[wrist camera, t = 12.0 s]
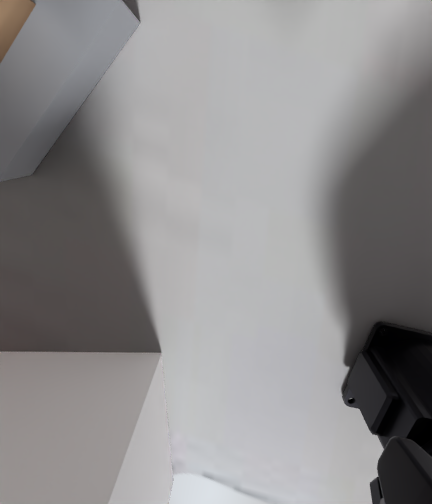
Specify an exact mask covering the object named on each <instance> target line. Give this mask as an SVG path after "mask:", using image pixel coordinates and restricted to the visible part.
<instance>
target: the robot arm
mask: <svg viewBox="0 0 432 504" xmlns="http://www.w3.org/2000/svg"><path fill="white" fill-rule="evenodd" d="M381 329H385V330H384V331H383V332H380V330H381ZM347 383H348V384H347V386H346V389H345V391H344V393H343V396H342V398H343V401H344V403H345V404H346V405H347V406H349V407H354V408H358V409H360V411H361V413H362V415H363V417H364V420H365V422H366V424H367V426H368V428H369V430H370V432H371V433H372V434H374V435H377V436H378V438H379V440H380V442H381V444H382V446H383V448H384V451H383V453H382V455H381V456H380V458H379V460H378V465H377V470H378V476H379V477H377V478H376V479H374V480H373V481H372V482H370V489H371V496H372V503H373V504H432V333H430V332H426V331H421V330H417V329H413V328H408V327H404V326H400V325H395V324H391V323H386V322H378V323H377V324H375V325H374V327H373V329H372V331H371V333H370V335H369V338H368V340H367V342H366V344H365V346H364V349H363V350H362V351H361V352H360V354H359V356H358V358H357V360H356V362H355V365H354V367H353V369H352V371H351V374H350V376H349V378H348V380H347ZM349 398H352V399H349Z"/></svg>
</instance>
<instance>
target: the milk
mask: <svg viewBox="0 0 432 504" xmlns="http://www.w3.org/2000/svg"><path fill="white" fill-rule="evenodd" d="M172 484H173V470H172V459H171V448H170V437H169V427H168V416H167V405H166V394H165V383H164V372H163V361H162V353H131V352H0V504H168V503H169V498H170V493H171V489H172Z"/></svg>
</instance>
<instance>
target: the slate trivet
mask: <svg viewBox="0 0 432 504" xmlns="http://www.w3.org/2000/svg"><path fill="white" fill-rule="evenodd" d="M32 1H33V2H34V3H35V4H36V5H35V7H34V9H33V10H32V12H31V14H30V15H29V17H28V19H27V20H26V22H25V24H24V25H23V27H22V29H21V30H20V32H19V34H18V35H17V37H16V38H15V40H14V42H13V43H12V45H11V47H10V48H9V50H8V52H7V53H6V55H5V57H4V58H3V60H2V62H1V63H0V182H1V181H6V180H11V179H16V178H21V177H26V176H31V175H32V174H33V172H34V171H35V170H36V168H37V167H38V165H39V164H40V163H41V161H42V160H43V158H44V157H45V156H46V154H47V153H48V151H49V150H50V149H51V147H52V146H53V144H54V143H55V142H56V140H57V139H58V137H59V136H60V135H61V133H62V132H63V130H64V129H65V128H66V126H67V125H68V123H69V122H70V121H71V119H72V118H73V116H74V115H75V114H76V112H77V111H78V109H79V108H80V107H81V105H82V104H83V102H84V101H85V100H86V98H87V97H88V95H89V94H90V93H91V91H92V90H93V88H94V87H95V86H96V84H97V83H98V81H99V80H100V79H101V77H102V76H103V74H104V73H105V72H106V70H107V69H108V67H109V66H110V65H111V63H112V62H113V60H114V59H115V58H116V56H117V55H118V53H119V52H120V51H121V49H122V48H123V46H124V45H125V44H126V42H127V41H128V39H129V38H130V37H131V35H132V34H133V32H134V31H135V30H136V28H137V27H138V25H139V24H140V22H139V20H138V19H137V18H136V17H135V15H134V14H133V13H132V12H131V11H130V9H129V8H128V7H127V6H126V5H125V3H124V2H123V1H122V0H32Z"/></svg>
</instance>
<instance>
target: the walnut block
mask: <svg viewBox="0 0 432 504" xmlns="http://www.w3.org/2000/svg"><path fill="white" fill-rule="evenodd" d="M35 5H36V4H35V3H34V2H33V1H32V0H0V63H1V62H2V60H3V58H4V57H5V55H6V53H7V52H8V50H9V48H10V47H11V45H12V43H13V42H14V40H15V38H16V37H17V35H18V34H19V32H20V30H21V29H22V27H23V25H24V24H25V22H26V20H27V19H28V17H29V15H30V14H31V12H32V10H33V9H34V7H35Z"/></svg>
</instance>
